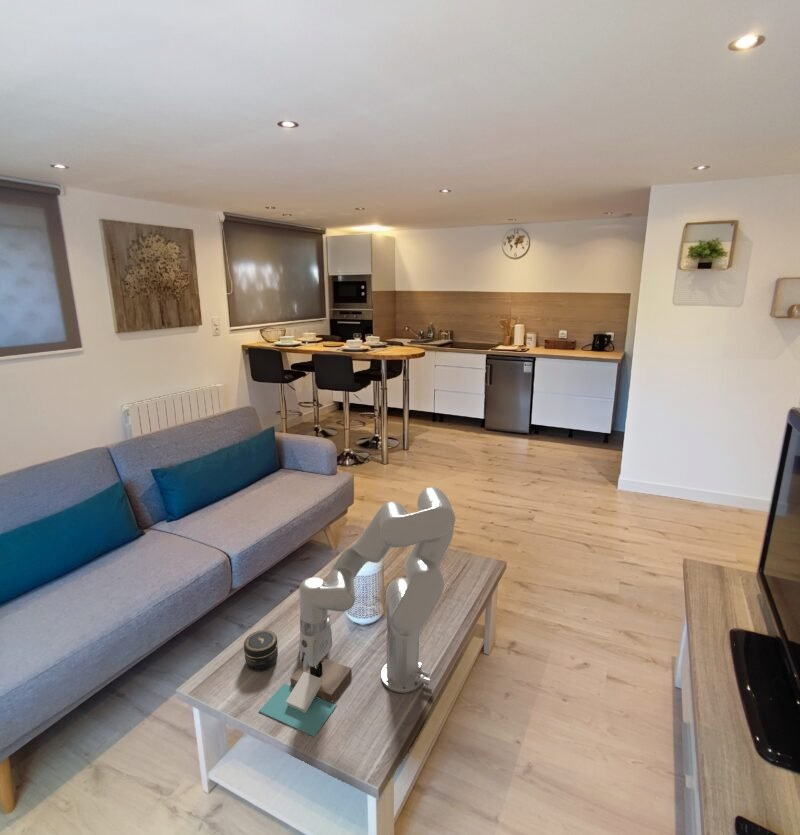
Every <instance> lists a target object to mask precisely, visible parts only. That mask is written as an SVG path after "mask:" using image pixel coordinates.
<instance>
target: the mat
mask: <svg viewBox="0 0 800 835" xmlns="http://www.w3.org/2000/svg"><path fill="white" fill-rule="evenodd" d="M293 689H294V686H291V685H289V684H286V683H282V685H281V686H280V687H279V688H278V690H276V692H274V693H273V695H272V696H271V697H270V698H269V700H267V701H266V703H265V704H263V706H262V707H261V708H260V709H259V710H258V712H259V713H261V714H263V715H265V716H268V717H270V718H272V719H274V720H276V721H278V722H280V723H282V724H285V725H286V726H289V727H292V728H293V729H296V730H298V731H300V732H302V733H304V734H307V735H309V736H311V737H312V738H315V736H316V735H317V734H318V732H319V731H320V729H322V727H323V726H324V724H325V722H326V721H327V720H328V718H329V717H330V716H331V714H333V712H334V710H335V709H336V708H337V704H334V703H332V702H330V701H327V700H325V699H323V698H320V697H318V696H315V697H314V699H313V701H312V703H311V704H310V706H309V708H308V710H307V712H306V713H304V712H301V711H299V710H297V709H295V708H292V707H290V706H288V705H287V703H286V700H287V699H288V697H289V695H290V694H291V692H292V690H293Z"/></svg>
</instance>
